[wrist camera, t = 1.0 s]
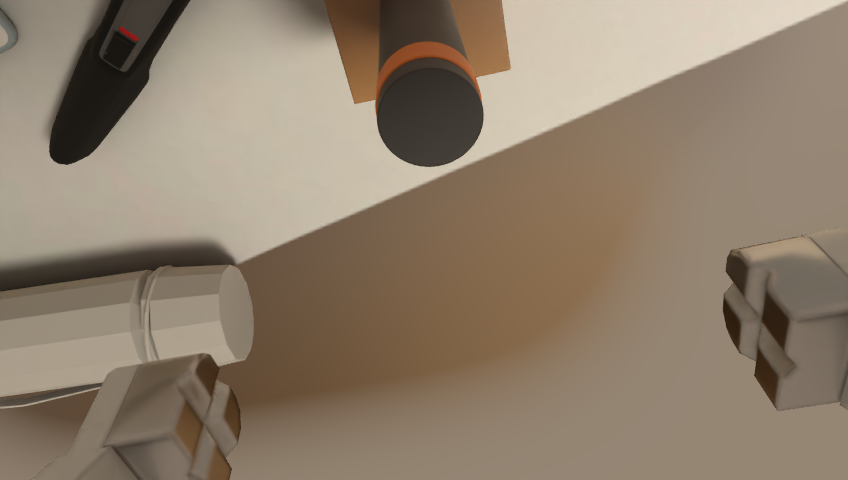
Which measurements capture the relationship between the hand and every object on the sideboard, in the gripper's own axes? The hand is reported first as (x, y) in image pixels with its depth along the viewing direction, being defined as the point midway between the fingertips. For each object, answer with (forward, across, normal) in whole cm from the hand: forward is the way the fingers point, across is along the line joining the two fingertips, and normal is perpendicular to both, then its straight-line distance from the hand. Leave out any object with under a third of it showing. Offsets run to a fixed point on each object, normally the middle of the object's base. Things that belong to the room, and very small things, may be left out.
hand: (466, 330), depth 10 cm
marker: (+19, 0, 0) cm, 19 cm away
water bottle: (+25, +41, +17) cm, 51 cm away
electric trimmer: (+29, +16, +1) cm, 33 cm away
